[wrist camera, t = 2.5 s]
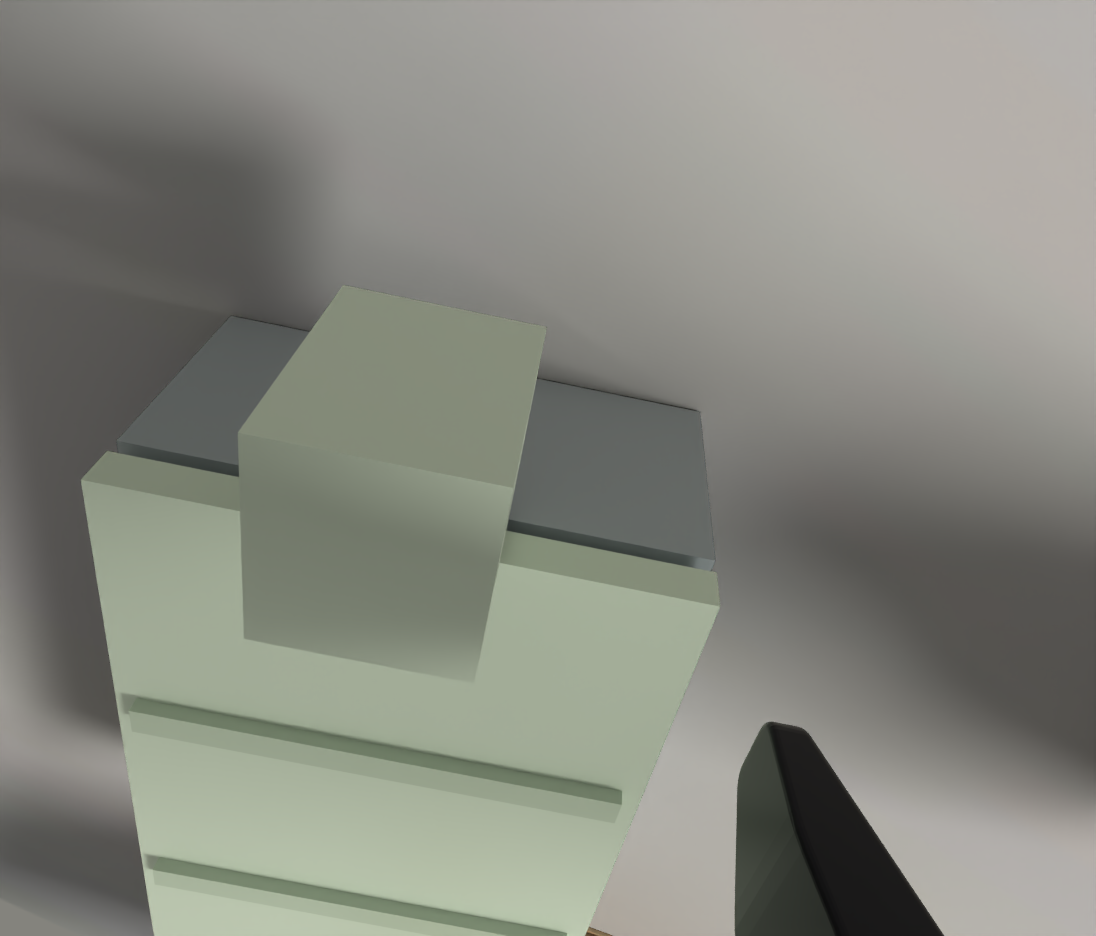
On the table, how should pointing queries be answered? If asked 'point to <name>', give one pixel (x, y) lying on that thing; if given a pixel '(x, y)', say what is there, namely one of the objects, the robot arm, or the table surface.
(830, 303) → the table surface
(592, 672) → the lid
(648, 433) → the tub
